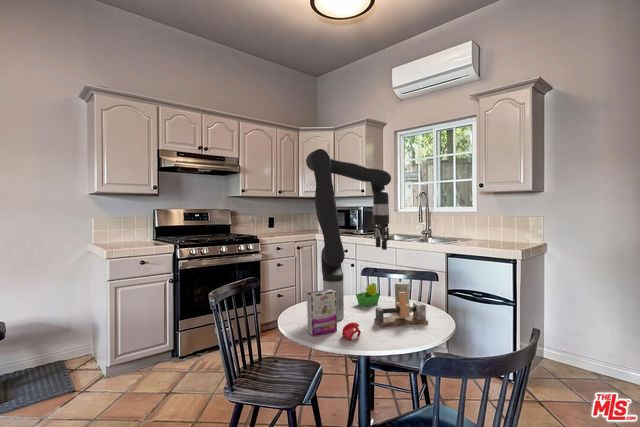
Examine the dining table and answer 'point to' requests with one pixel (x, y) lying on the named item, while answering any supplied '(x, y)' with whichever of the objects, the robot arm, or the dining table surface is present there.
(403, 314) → the sleeve
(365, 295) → the fruit basket
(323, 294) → the candy bar box
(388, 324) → the rail
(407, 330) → the dining table surface
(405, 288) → the skincare box
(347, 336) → the red toy helmet
